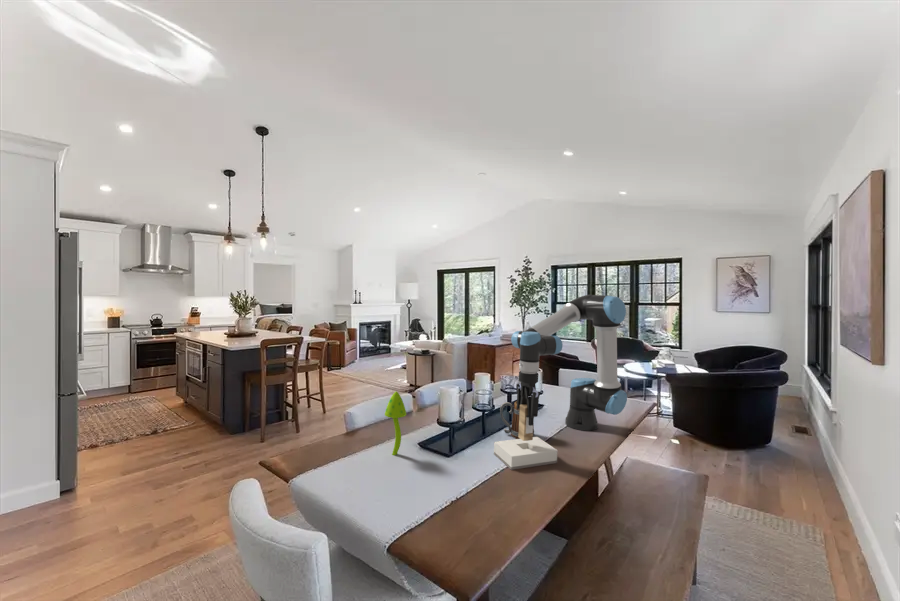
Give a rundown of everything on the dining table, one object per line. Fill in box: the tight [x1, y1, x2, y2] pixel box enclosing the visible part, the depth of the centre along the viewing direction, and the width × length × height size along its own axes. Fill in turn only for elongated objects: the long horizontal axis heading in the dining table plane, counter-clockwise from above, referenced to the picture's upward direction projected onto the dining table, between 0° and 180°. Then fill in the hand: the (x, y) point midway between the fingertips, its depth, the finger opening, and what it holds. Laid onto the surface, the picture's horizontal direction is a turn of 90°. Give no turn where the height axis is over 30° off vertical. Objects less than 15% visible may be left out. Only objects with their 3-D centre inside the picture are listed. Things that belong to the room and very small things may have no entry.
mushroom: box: [384, 391, 407, 456], centre depth 159 cm, size 8×8×25 cm
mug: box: [499, 400, 535, 439], centre depth 183 cm, size 16×11×15 cm
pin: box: [518, 404, 533, 441], centre depth 159 cm, size 4×4×13 cm
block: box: [493, 436, 558, 471], centre depth 160 cm, size 20×14×5 cm
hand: (525, 430), depth 159 cm, fingers closed on pin, 4 cm apart
